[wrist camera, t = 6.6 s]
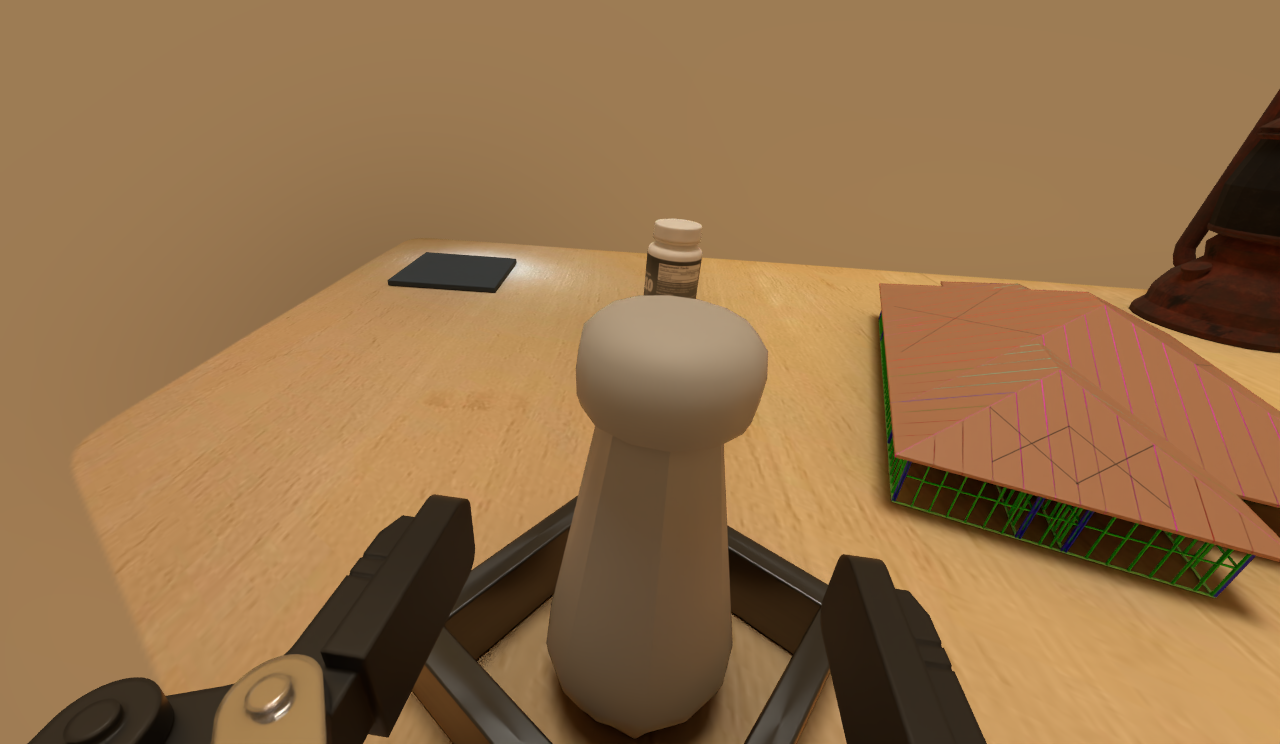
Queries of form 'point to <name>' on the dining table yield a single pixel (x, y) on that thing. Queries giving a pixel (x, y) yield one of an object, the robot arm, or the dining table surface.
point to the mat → (455, 272)
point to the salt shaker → (653, 510)
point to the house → (1077, 418)
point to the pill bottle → (674, 259)
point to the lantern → (1230, 253)
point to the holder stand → (527, 575)
